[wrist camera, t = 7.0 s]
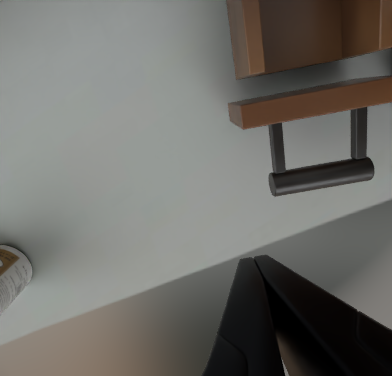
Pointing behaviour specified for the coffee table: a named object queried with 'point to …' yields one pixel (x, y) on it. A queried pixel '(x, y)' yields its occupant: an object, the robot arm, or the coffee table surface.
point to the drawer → (301, 57)
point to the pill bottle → (12, 274)
